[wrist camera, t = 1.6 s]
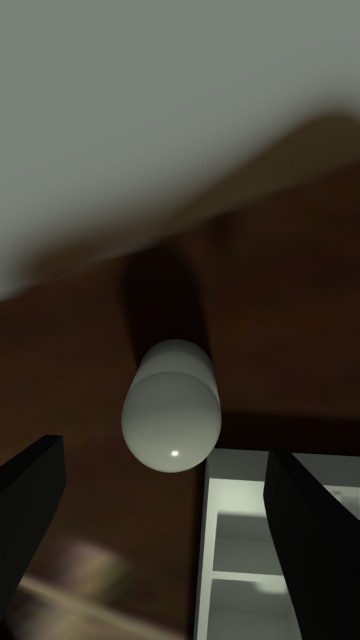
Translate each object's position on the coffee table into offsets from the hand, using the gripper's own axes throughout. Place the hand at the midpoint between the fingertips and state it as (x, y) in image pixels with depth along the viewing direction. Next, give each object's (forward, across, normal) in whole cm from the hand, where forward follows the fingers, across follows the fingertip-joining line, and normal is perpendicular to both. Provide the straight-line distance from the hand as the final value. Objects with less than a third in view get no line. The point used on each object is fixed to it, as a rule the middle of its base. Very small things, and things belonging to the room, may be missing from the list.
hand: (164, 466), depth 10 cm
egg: (+7, 0, 0) cm, 7 cm away
